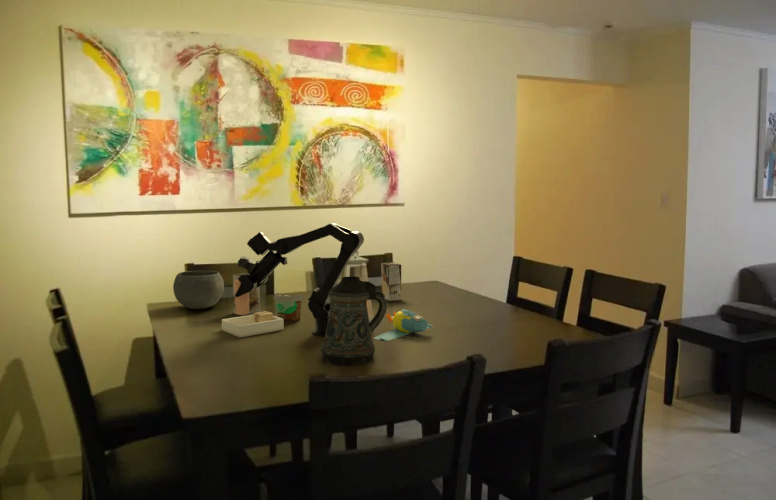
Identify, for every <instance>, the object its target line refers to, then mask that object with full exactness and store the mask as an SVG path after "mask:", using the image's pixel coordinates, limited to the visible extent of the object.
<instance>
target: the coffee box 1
mask: <svg viewBox="0 0 776 500" xmlns="http://www.w3.org/2000/svg"><path fill="white" fill-rule="evenodd" d="M242 274H249V273H248V272H242V273H236V274H235V273H234V274H232V300H233V301H232V305H233V310H232V311H233V314H235V290H234V280H238V278H239V277H240V276H241V275H242ZM260 287H261V286H259V287H257V288H255V289H254V290H252V291H250V292H249V311H250V313H249V314H244V315H243V316H247V315H253V314H254V313H257V312H261V302H260V301H261V297H260V296H261V294H260ZM235 315H236V314H235Z"/></svg>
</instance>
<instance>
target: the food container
mask: <svg viewBox="0 0 776 500" xmlns="http://www.w3.org/2000/svg"><path fill="white" fill-rule="evenodd" d="M303 300H304V299H303V296H302V294H300V295H299V294H298V295H290V294H279V292H275V293H274V296H273V301H275V305H276V306H275V307H276V315H277V316H276V317H279V318H282V319H284V322H285V323H287V322H288V323H289V322H291V323H292V322H298V321H301V311H302V310H301V309H302V301H303Z"/></svg>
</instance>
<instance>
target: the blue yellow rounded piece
mask: <svg viewBox="0 0 776 500" xmlns="http://www.w3.org/2000/svg"><path fill="white" fill-rule="evenodd" d="M385 318H386V319H387V320H388V324H389V325H390V324H391V323H392V324H393V327H394V329H391V330H388V331H386V332H383V333H380V334H379V335H376V336H375V337H373V339H374V340H378V341H384V342H389V341H390V340H395V339H398V338H401V337H405V336H408V335H410V334H412V333H421V332H426V330H427V329H430V327H431V328H433V327H434V325H432V324H431V323H429V322H428V321H429V320H428V319H425V318H424V317H423V316H421V315H419V314H417V313H416V312H413V311H412V310H408V309H403V308H401V310H399V311H398V312H396V311H393V316H391V314H390V313H389V312H387V314H385Z"/></svg>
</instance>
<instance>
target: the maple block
mask: <svg viewBox="0 0 776 500" xmlns="http://www.w3.org/2000/svg"><path fill="white" fill-rule="evenodd" d="M253 315H254V323H258V322H264V321H271V320H273V316H274V313H273V312H270V311H267V310H264V311H260V312H257V313H253Z"/></svg>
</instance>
